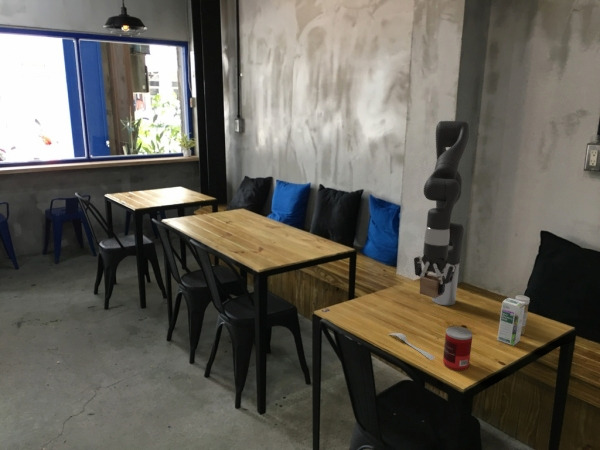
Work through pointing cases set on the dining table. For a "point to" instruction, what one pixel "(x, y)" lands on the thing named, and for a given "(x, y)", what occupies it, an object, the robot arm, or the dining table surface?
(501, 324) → the syrup box
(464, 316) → the dining table surface
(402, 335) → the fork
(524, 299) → the sprinkles bottle
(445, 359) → the canned food
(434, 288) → the walnut cube
